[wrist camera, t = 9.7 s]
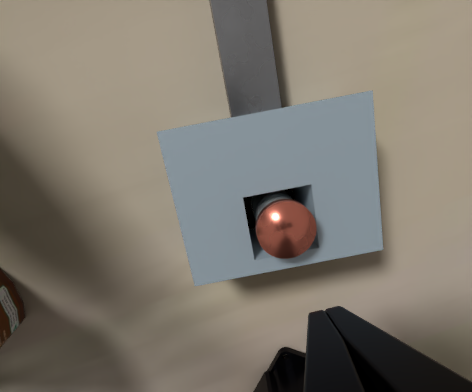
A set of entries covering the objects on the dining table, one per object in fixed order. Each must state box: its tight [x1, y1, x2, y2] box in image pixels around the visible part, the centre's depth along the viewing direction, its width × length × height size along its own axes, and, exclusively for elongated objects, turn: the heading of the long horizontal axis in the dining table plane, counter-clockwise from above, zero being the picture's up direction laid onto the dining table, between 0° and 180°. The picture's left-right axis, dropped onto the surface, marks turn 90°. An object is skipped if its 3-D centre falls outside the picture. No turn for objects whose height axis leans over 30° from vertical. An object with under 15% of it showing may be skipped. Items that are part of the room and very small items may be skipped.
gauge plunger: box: [251, 190, 316, 259], centre depth 16 cm, size 3×3×5 cm
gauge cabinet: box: [157, 91, 383, 286], centre depth 17 cm, size 8×10×4 cm
